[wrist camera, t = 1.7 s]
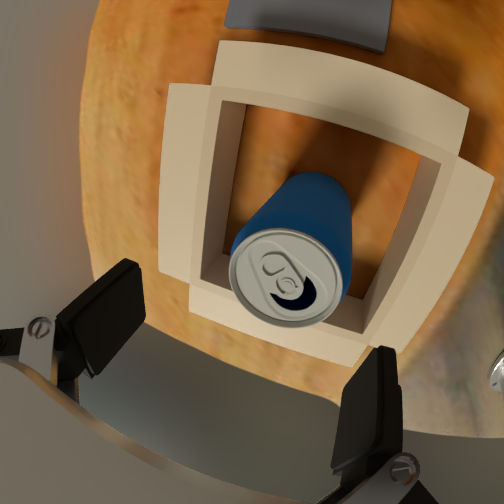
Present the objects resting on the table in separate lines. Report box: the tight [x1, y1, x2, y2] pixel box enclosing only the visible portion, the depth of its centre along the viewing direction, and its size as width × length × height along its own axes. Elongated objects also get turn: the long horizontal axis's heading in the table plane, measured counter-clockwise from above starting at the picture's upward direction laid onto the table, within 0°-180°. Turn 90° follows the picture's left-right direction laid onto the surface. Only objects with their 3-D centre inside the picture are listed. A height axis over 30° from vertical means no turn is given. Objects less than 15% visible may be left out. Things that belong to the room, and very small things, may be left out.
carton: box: [158, 40, 495, 368], centre depth 21 cm, size 24×24×5 cm
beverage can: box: [229, 172, 352, 329], centre depth 18 cm, size 6×6×12 cm
